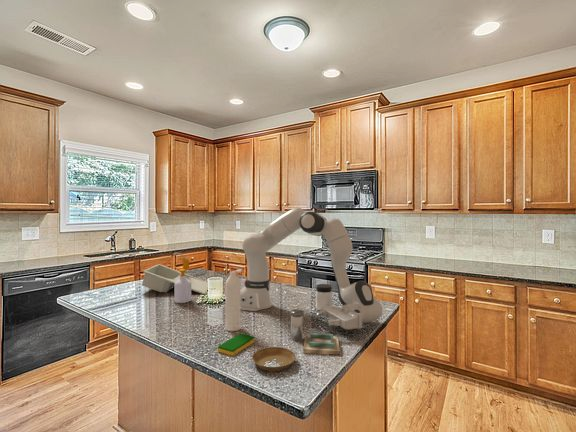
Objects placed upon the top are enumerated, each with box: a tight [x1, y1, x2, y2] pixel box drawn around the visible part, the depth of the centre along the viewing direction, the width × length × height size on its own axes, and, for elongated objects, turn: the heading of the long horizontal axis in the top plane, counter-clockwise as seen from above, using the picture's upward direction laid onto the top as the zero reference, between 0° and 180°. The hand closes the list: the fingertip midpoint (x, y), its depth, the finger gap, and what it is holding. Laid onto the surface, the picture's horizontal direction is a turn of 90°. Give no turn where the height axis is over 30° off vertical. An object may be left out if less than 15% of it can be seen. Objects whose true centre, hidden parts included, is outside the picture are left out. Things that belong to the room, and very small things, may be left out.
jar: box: [315, 283, 333, 311], centre depth 165 cm, size 9×8×12 cm
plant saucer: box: [251, 346, 297, 372], centre depth 106 cm, size 15×15×3 cm
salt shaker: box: [289, 308, 304, 342], centre depth 126 cm, size 5×5×11 cm
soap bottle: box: [173, 257, 192, 304], centre depth 176 cm, size 9×9×25 cm
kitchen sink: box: [141, 252, 208, 295], centre depth 202 cm, size 24×40×25 cm, turn 91°
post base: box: [302, 332, 341, 355], centre depth 119 cm, size 13×13×3 cm
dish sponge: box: [217, 333, 255, 357], centre depth 119 cm, size 7×14×2 cm, turn 152°
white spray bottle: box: [224, 268, 243, 332], centre depth 137 cm, size 9×6×25 cm
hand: (322, 319), depth 131 cm, fingers open, 8 cm apart
